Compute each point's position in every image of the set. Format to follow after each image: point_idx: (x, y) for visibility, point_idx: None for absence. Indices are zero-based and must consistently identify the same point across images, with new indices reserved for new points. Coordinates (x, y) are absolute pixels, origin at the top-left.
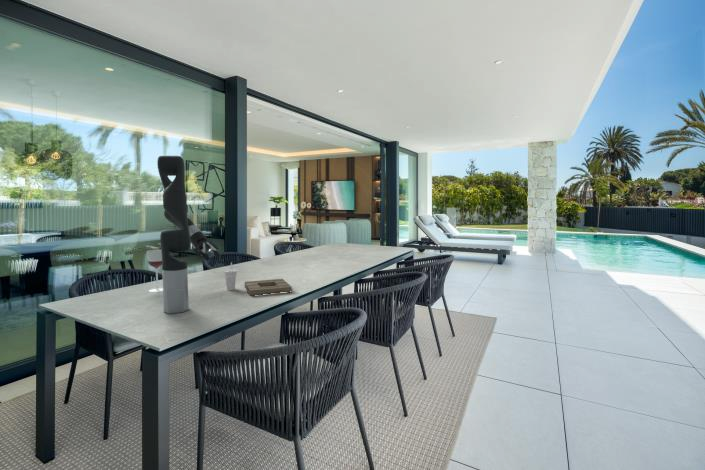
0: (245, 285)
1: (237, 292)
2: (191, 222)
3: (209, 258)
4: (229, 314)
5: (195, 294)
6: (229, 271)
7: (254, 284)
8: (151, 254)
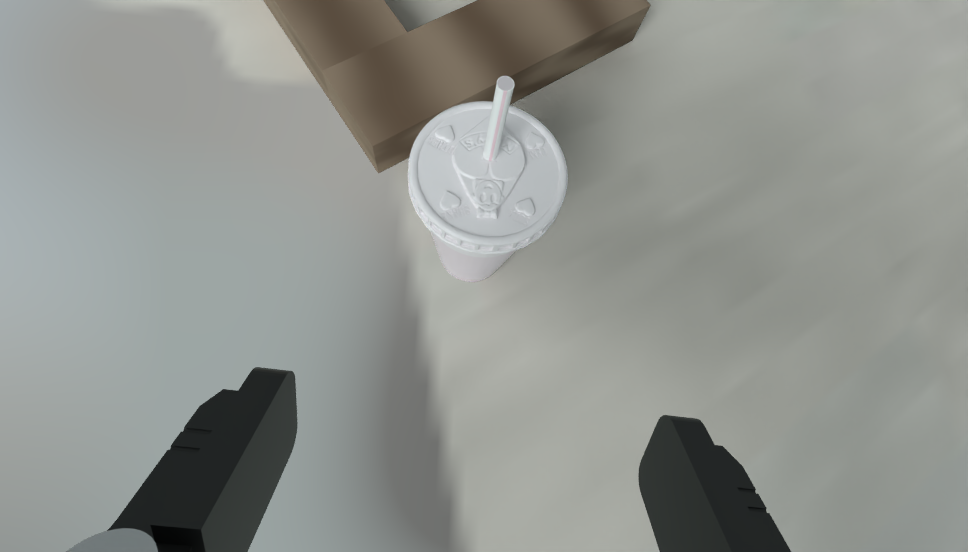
0: None
1: None
2: None
3: (690, 418)
4: (959, 26)
5: None
6: (525, 167)
7: (462, 34)
8: None
